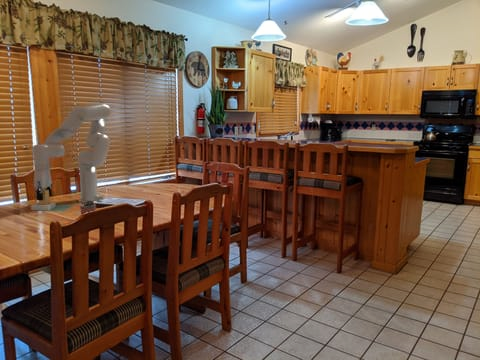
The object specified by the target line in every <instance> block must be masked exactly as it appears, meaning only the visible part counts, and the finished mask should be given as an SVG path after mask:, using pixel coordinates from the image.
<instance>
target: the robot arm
mask: <svg viewBox="0 0 480 360" xmlns="http://www.w3.org/2000/svg"><path fill="white" fill-rule="evenodd" d="M111 114H112V109H111V107H110V106H109V105H108V104H106V103H91V104H89V105H86V106H85V105H83V106H82V105H77V106H74V107H72V109H71V111H70V112H68V115H67V116H66V118H65V119H64V121H63V122H62V124H61V125H60V126H59V127H57V128H56V129H55V130H54V131H52V132H51V133H50V134H49V135H48V137H47V138H46V140H45V141H44V143H43V144H34V145H33V147H32V155H33V169H34V173H33V175H34V176H33V188H34V191H35V194H36V200H37V201H38V200H43V193H42V190H49V197H52V196H53V192H52V191H53V190H52V189H53V187H52V186H53V180H52V177H51V164H50V163H51V162H50V158H62V157H63V156H64V155H65V154H66V149H65V147H64V145H62V144H60V143H62V142H63V141H64V140H66V139H68V138H71V137H72V136H74V135H76V134H77V132H78V131H79V128H81V126H82V124H83V123H84V122H91V123H90V124H91V125H90V128H89V131H88V133H87V137H86V139H85V145H86V147H88V148H89V149H84V150H82V151H80V152H79V153H78V154H77V163H78V168H79V180H80V181H79V182H80V184H79V186H80V199H78V200H77V201H78V202H79V203H82V202H83V201H87V200H89V201H92V200H93V201H94V203H97V202H100V201H101V200H105V196H104V195H100V193H98V172H97V169H96V168H101V167H102V166H103V165H104V164H105V162H106V159H107V156H108V153H109V150H110V147H111V140H110V138H109V136H108V135H107V134H105V132H106V129H107V124H106V121H105V119H107V118H109V117H110V116H111ZM90 149H92V150H90Z"/></svg>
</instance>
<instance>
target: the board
mask: <svg viewBox="0 0 480 360" xmlns="http://www.w3.org/2000/svg"><path fill="white" fill-rule="evenodd" d="M49 202H50V204H48V205H39V204H38V202H36V203H33V204H32V205H30V210H31V211H36V212H37V211H38V212H39V211H40V212H65V211H68V209H71V208H72V207H74V206H75V204H74V205H73V204H56V202H54V201H53V202H51V201H49Z"/></svg>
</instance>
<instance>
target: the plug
mask: <svg viewBox="0 0 480 360" xmlns="http://www.w3.org/2000/svg"><path fill="white" fill-rule="evenodd" d="M42 193H43V200H37V203H38V204H39V205H48V204H50V202H51V201H50V196H49V190H45V189H43V190H42Z"/></svg>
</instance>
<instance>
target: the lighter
mask: <svg viewBox="0 0 480 360" xmlns="http://www.w3.org/2000/svg"><path fill="white" fill-rule="evenodd" d="M96 206H97V204H95V202H94V201H93V200H92V201H89V200H87V201H83V202H81V206H80V207H79V208H80V215H81V214H84V213H86V212H90V211H94V210H96V211H97V207H96Z"/></svg>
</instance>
